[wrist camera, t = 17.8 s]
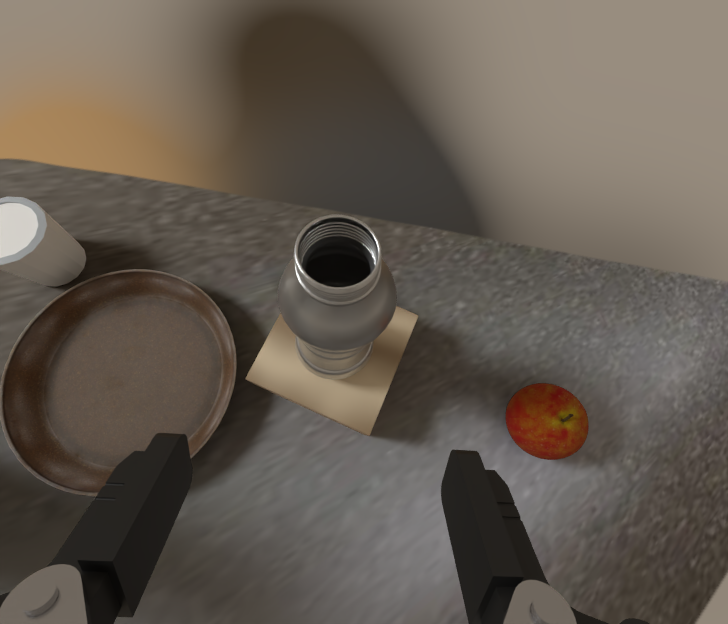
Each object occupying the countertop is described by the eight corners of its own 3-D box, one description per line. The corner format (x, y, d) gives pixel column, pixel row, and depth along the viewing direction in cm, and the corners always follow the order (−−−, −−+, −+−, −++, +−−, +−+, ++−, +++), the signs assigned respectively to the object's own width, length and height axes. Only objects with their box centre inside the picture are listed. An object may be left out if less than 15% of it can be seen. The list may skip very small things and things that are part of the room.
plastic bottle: (301, 312, 36) (265, 178, 17) (372, 316, 36) (418, 192, 17) (294, 381, 34) (244, 319, 15) (369, 385, 34) (416, 331, 15)
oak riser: (364, 435, 38) (369, 435, 33) (255, 385, 38) (245, 378, 33) (408, 328, 41) (418, 315, 37) (308, 284, 42) (305, 266, 37)
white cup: (24, 237, 41) (-36, 199, 34) (93, 229, 42) (47, 191, 35) (20, 296, 39) (-44, 269, 32) (92, 287, 40) (43, 258, 33)
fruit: (562, 459, 39) (618, 466, 31) (495, 454, 38) (536, 460, 31) (556, 389, 41) (608, 380, 33) (493, 384, 40) (530, 374, 33)
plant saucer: (-24, 444, 35) (-59, 445, 32) (98, 254, 41) (79, 239, 38) (184, 523, 34) (169, 533, 31) (276, 319, 41) (271, 310, 38)
